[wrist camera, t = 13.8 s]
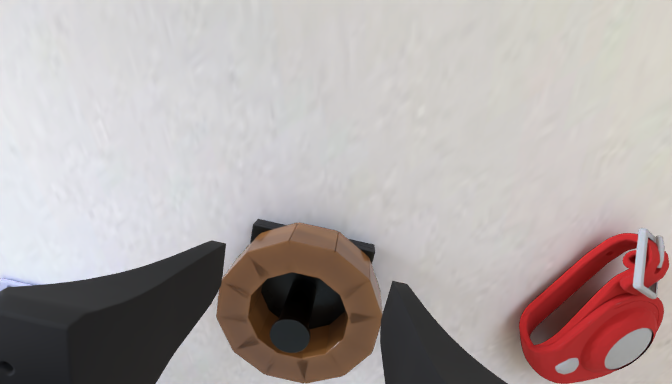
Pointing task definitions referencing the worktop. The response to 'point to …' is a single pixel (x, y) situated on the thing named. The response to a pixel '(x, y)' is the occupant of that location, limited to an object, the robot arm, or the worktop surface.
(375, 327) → the ring
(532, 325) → the tracker holder
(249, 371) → the worktop surface
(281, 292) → the rack
